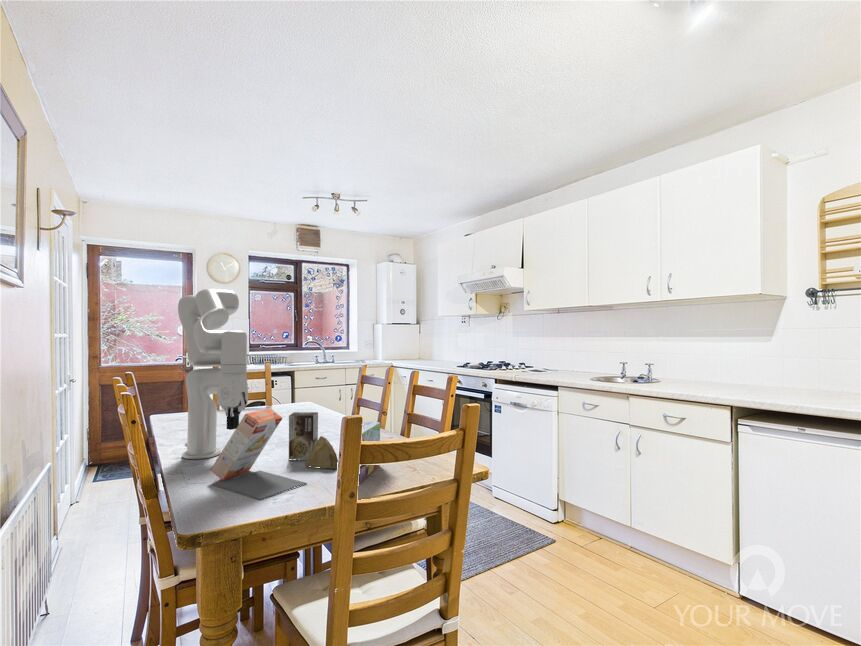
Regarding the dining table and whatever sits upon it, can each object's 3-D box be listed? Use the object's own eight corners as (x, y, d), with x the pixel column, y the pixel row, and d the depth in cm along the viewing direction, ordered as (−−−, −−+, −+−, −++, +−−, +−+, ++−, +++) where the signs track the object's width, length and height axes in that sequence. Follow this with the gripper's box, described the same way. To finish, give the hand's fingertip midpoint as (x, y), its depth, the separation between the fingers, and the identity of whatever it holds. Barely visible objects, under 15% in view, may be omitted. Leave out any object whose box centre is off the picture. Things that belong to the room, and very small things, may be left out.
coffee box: (318, 456, 167) (318, 411, 168) (313, 461, 161) (314, 415, 161) (293, 455, 167) (294, 411, 168) (287, 460, 161) (288, 414, 161)
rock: (347, 460, 153) (334, 450, 161) (335, 443, 149) (322, 433, 157) (322, 484, 148) (310, 472, 156) (308, 466, 145) (296, 455, 152)
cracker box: (223, 482, 136) (259, 423, 134) (208, 470, 137) (244, 412, 136) (251, 470, 149) (283, 417, 148) (237, 460, 150) (270, 406, 149)
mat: (212, 485, 134) (212, 483, 134) (259, 471, 147) (259, 470, 148) (260, 500, 122) (260, 498, 122) (306, 484, 135) (306, 482, 136)
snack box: (359, 485, 135) (360, 434, 135) (342, 484, 136) (342, 433, 136) (380, 465, 156) (381, 421, 156) (364, 464, 157) (365, 420, 157)
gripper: (208, 369, 144) (207, 428, 144) (237, 371, 136) (236, 433, 135) (230, 368, 151) (229, 424, 150) (258, 370, 142) (258, 429, 142)
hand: (232, 428), depth 143 cm, fingers closed
